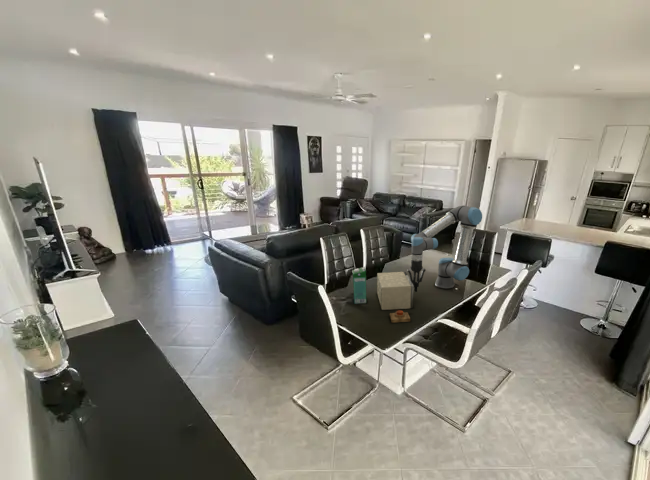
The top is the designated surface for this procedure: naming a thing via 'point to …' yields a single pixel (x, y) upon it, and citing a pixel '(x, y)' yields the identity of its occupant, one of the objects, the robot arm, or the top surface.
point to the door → (411, 290)
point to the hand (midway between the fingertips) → (415, 291)
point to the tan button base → (399, 317)
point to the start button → (399, 312)
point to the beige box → (393, 290)
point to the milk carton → (359, 285)
